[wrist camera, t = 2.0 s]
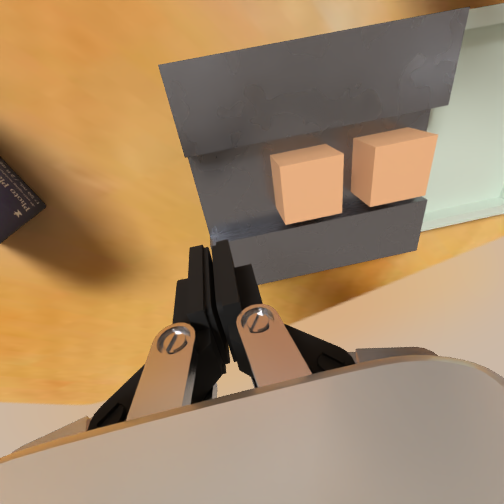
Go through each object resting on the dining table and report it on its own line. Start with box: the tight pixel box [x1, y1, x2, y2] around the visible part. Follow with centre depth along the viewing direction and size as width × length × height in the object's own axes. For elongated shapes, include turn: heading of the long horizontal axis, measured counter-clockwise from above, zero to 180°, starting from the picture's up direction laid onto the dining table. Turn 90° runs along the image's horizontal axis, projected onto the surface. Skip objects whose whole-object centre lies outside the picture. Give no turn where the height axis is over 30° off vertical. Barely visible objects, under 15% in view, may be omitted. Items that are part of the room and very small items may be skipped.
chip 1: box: [270, 144, 344, 225], centre depth 19 cm, size 4×4×3 cm
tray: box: [421, 3, 504, 231], centre depth 22 cm, size 12×16×2 cm
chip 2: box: [351, 127, 438, 207], centre depth 19 cm, size 4×4×3 cm
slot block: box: [158, 7, 470, 285], centre depth 21 cm, size 17×16×4 cm
